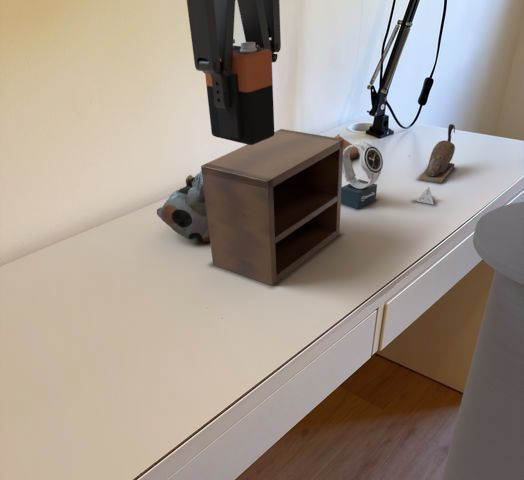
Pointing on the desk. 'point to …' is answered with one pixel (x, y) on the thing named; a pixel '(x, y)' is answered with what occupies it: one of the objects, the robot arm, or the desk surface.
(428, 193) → the tetrahedral die
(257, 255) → the shelf
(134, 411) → the desk surface
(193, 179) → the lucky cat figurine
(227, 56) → the robot arm
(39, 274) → the desk surface
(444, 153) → the figurine
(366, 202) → the watch
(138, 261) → the desk surface
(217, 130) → the battery
